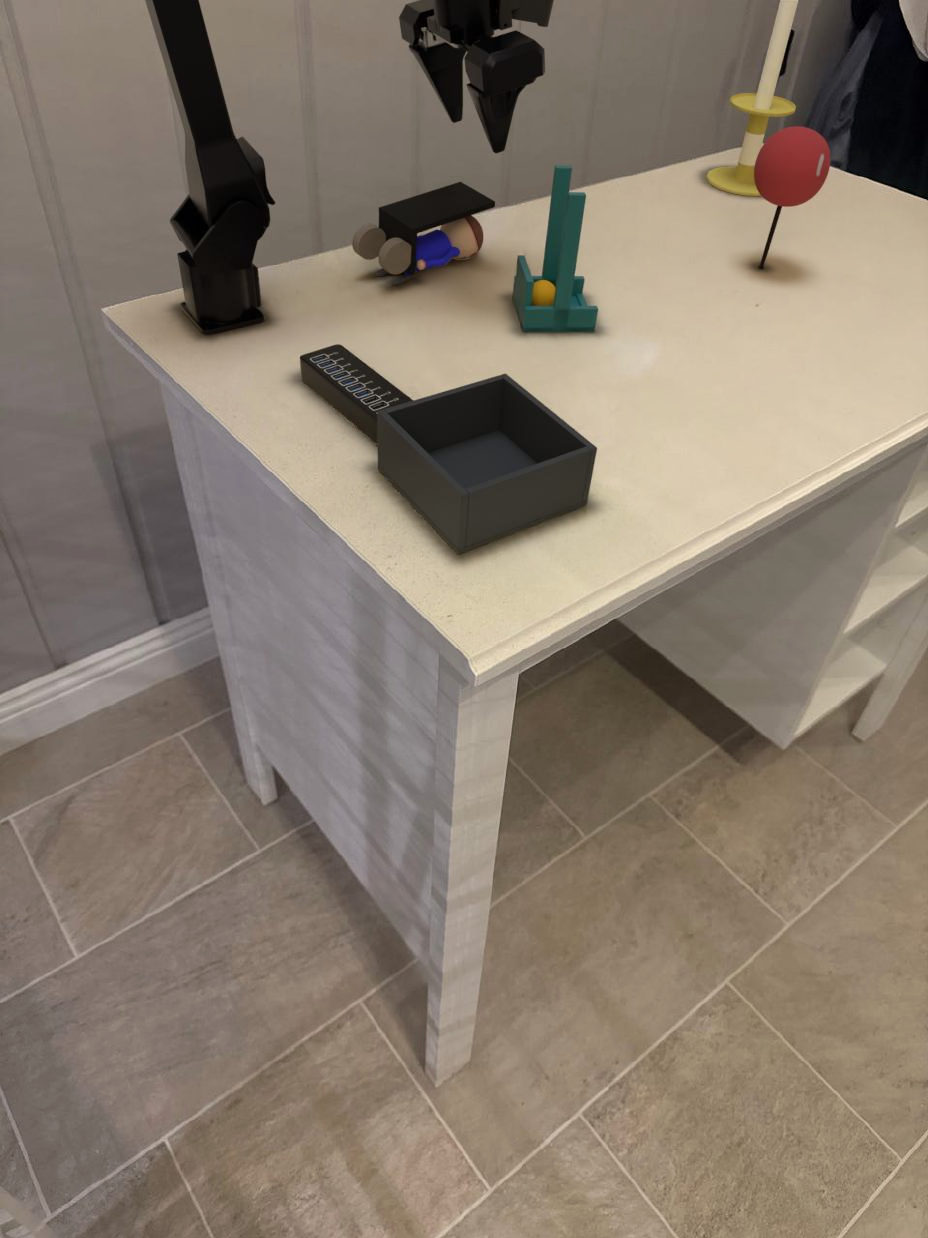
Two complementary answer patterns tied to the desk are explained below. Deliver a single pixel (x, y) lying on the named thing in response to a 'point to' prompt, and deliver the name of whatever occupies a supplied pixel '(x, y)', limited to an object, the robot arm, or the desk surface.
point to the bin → (484, 461)
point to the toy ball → (543, 293)
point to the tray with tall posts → (557, 267)
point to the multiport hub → (350, 386)
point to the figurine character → (419, 214)
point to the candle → (759, 110)
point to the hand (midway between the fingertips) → (477, 135)
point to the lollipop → (790, 170)
